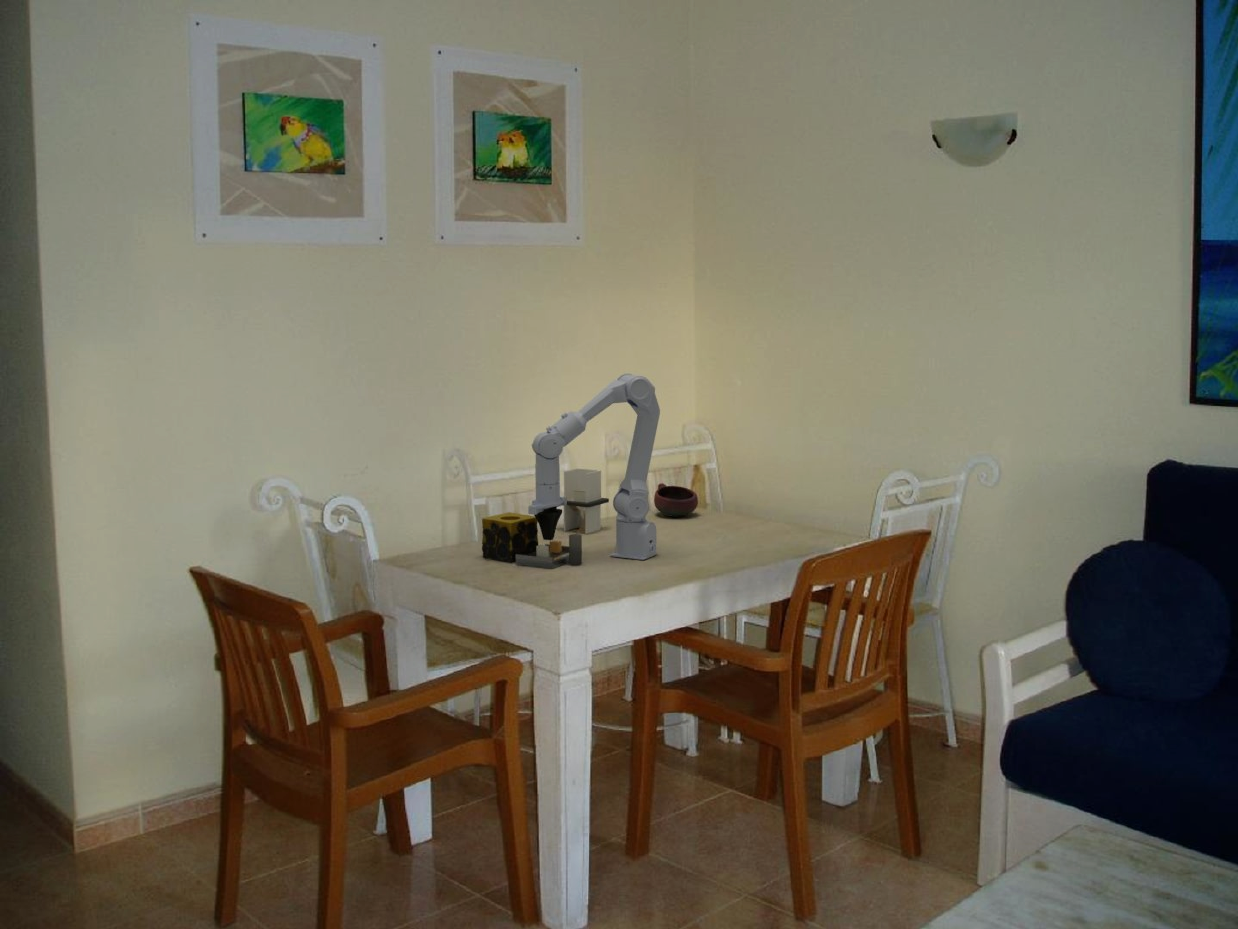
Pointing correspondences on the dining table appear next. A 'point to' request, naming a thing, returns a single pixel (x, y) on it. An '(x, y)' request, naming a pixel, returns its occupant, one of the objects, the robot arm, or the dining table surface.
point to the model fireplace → (583, 500)
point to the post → (575, 549)
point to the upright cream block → (542, 550)
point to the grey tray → (544, 559)
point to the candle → (509, 536)
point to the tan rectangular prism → (555, 546)
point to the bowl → (675, 500)
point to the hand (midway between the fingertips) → (548, 539)
